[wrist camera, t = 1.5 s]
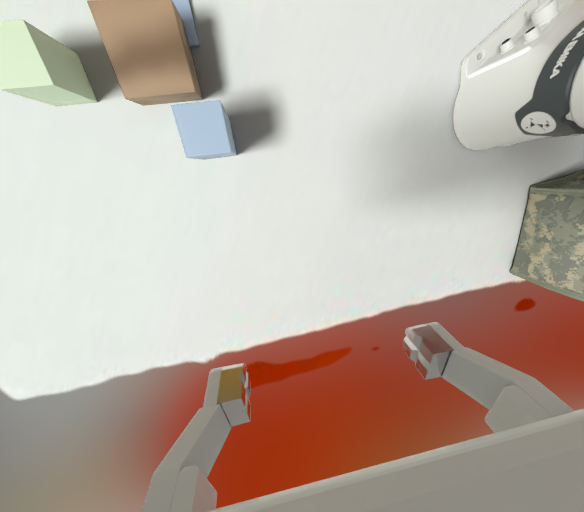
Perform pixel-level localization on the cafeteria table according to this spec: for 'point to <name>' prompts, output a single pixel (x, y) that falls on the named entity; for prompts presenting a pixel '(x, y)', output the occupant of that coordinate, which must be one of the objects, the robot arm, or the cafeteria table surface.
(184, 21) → the swatch
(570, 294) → the bag
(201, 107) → the pillar
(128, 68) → the walnut block
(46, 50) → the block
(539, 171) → the cafeteria table surface
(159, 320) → the cafeteria table surface
